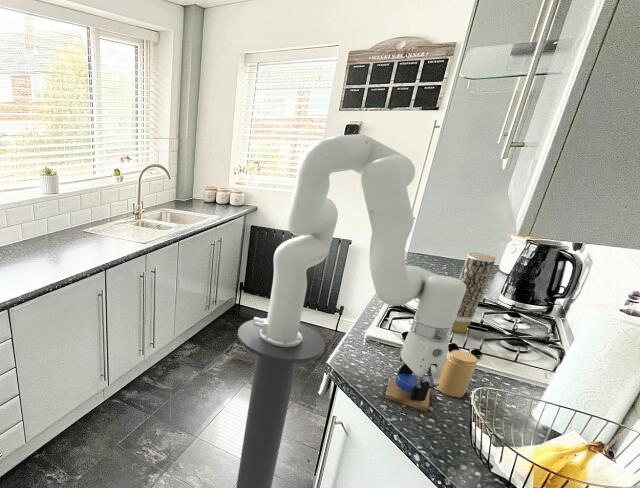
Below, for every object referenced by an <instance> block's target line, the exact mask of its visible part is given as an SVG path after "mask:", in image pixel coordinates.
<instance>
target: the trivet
mask: <svg viewBox="0 0 640 488" xmlns="http://www.w3.org/2000/svg"><path fill="white" fill-rule="evenodd" d="M395 380H396V378H394V377H389V379H388V382H387V385H386V390H385V396H384V399H386V400H389V401H393V402H395V403H397V404H401V405H405V406H408V407H411V408H414V409H417V410H421V411H424V412H428V410H429V408H430V395H431V389H429V390H428V393H427V395H426V398H425V400H424V401H414V400H411V399H410V396H411V393H409V392H407V391H404V390H402V389H401V388H399V387H398V386H397V384H396V382H395Z"/></svg>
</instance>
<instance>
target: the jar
mask: <svg viewBox="0 0 640 488" xmlns="http://www.w3.org/2000/svg"><path fill="white" fill-rule="evenodd" d="M478 361H479V359H478V358H477V356H475V355H474V354H473V353H470V352H468V351H464V350H459V349H458V350H456V349H455V350H451V351H450V353H449V354H447V357H446V361H445V365H444V368H443V371H442V374H441V376H440V378H439V383H440V384H439V386H435V388H436V389H437V390H438V391H439V392H441V393H442V394H443V395H446V396H449V397H451V398H462V397H464V396H465V395H466V393H467V389H468V388H469V385H470V383H471V380H472V378H473V375H474V373H475V371H476V369H477V366H478V364H477V363H478Z"/></svg>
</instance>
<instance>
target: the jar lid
mask: <svg viewBox="0 0 640 488" xmlns="http://www.w3.org/2000/svg"><path fill="white" fill-rule="evenodd" d="M396 377H397V379H396V378H395V379H396V381H395V382H396V384H397V386H398V387H399V388H401V389H402V390H404V391H407V392H409V393H412V391H413V388H414V386H417V375H416V374H414V373H412V374H407V373H402V374H399V375H398V376H397V375H396ZM423 382H426V379H425V378H422V383H423Z"/></svg>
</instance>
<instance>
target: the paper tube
mask: <svg viewBox="0 0 640 488" xmlns="http://www.w3.org/2000/svg"><path fill="white" fill-rule="evenodd" d="M496 260H497V258H496V257H495V256H493V255H490V254H487V253H480V252H469V253H468V254H467V256H466V258H465V261H464V264H463V266H462V270H461V272H460V275H459V277H458V279H459V280H461V281H462V282H464V283H465V285H466V292H465V295H464V297H463V300H462V303H461V305H460V308H459V311H458V313H457V316H456V319H455V322H454V324H453V327H452V330H451V332H454V333H458V334H459V333H460V334H461V333H466V332H468V330H467V328H468V326H469V327H470V326H471V323H472V320H473V318H474V316H475V313H476V311H477V308H478V305H479V303H480V300H481V299H482V295H483V293H484V290H485V288H486V285H487V283H488V280H489V278H490V275H491V273H492V271H493V268H494V266H495V263H496ZM468 329H469V328H468Z"/></svg>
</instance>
